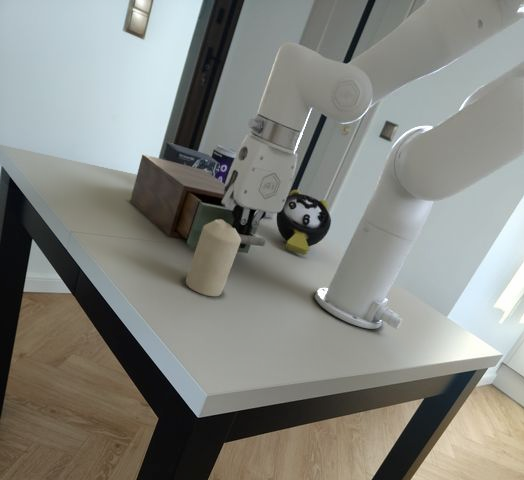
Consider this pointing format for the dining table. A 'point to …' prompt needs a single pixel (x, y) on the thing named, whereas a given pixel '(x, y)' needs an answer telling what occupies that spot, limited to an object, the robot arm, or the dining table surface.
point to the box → (190, 158)
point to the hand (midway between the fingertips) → (235, 244)
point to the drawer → (208, 219)
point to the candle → (213, 258)
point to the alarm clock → (303, 221)
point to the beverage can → (223, 161)
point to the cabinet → (169, 190)
